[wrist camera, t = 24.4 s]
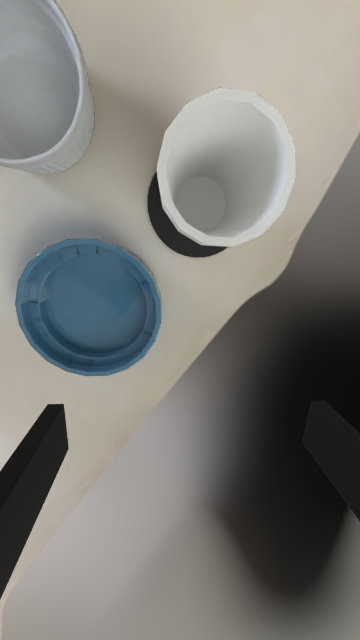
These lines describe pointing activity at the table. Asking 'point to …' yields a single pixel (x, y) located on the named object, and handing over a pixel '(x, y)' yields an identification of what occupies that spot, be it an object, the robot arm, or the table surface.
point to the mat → (174, 228)
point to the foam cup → (226, 168)
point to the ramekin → (42, 89)
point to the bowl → (89, 306)
